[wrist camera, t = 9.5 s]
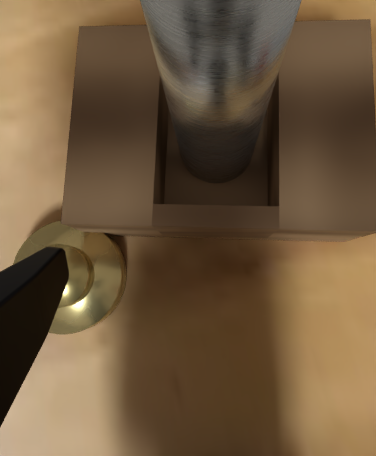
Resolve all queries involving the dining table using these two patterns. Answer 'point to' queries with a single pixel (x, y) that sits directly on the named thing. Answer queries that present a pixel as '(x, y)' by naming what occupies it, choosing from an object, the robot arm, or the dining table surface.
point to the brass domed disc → (82, 275)
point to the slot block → (262, 155)
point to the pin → (218, 75)
